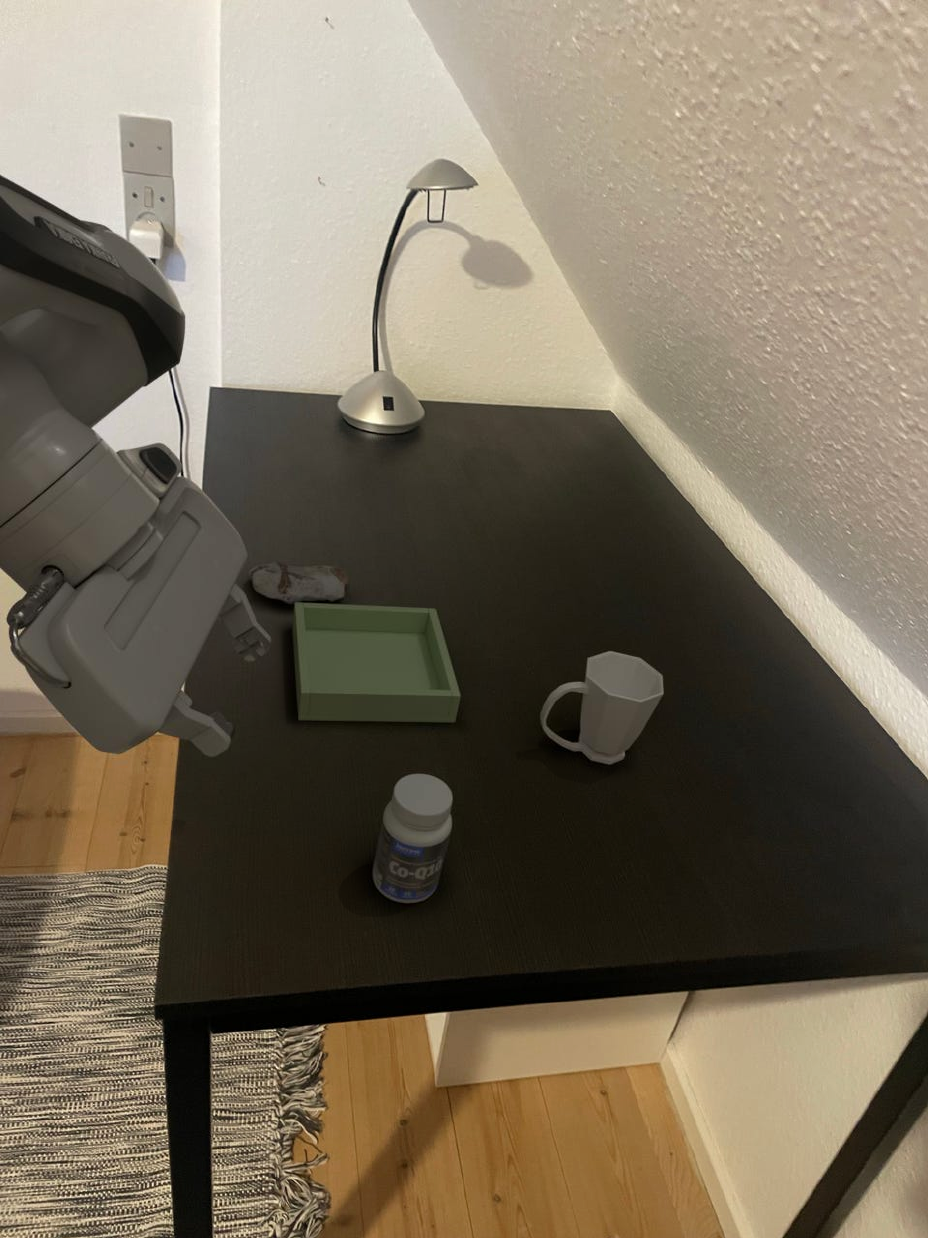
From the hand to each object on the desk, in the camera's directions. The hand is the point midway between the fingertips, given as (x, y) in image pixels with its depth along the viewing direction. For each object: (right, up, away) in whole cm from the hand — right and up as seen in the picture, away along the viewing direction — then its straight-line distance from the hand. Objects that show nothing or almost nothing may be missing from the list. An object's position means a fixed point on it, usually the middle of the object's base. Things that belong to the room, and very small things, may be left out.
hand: (244, 695), depth 59 cm
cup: (+24, -7, +24) cm, 35 cm away
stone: (-3, +7, +37) cm, 38 cm away
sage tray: (+5, 0, +28) cm, 28 cm away
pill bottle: (+9, -14, +9) cm, 19 cm away
